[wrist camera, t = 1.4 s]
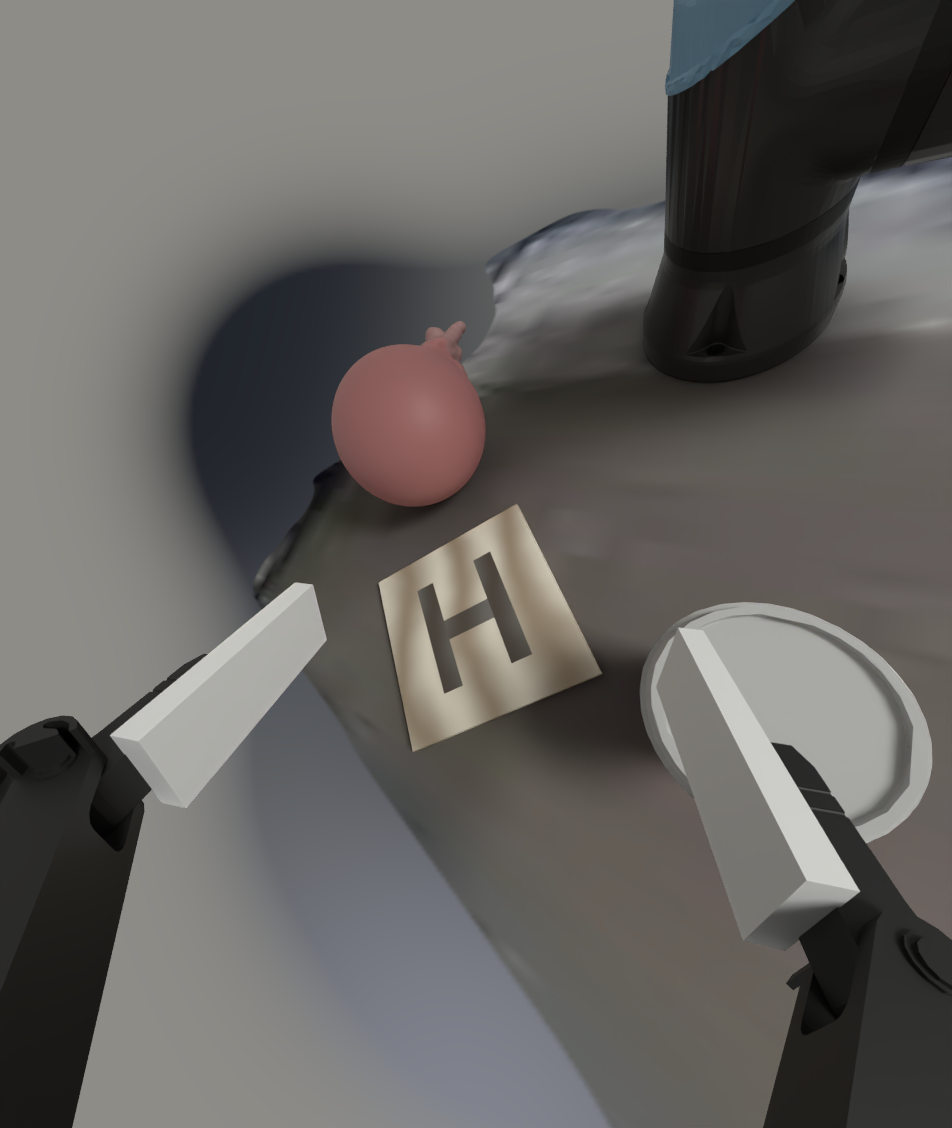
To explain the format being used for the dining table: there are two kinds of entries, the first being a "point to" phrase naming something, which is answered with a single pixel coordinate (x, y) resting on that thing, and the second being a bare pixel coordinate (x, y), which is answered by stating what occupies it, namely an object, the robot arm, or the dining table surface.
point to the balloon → (410, 421)
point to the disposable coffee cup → (812, 706)
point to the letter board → (480, 631)
